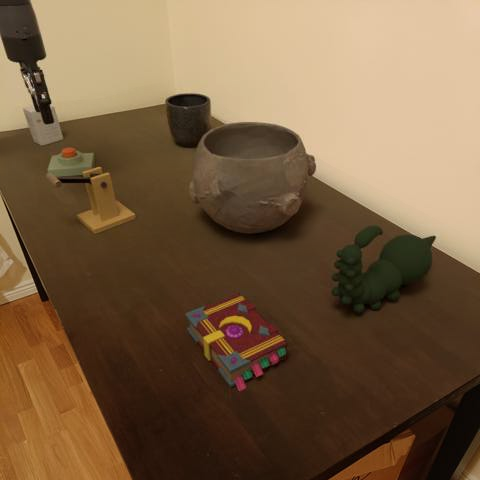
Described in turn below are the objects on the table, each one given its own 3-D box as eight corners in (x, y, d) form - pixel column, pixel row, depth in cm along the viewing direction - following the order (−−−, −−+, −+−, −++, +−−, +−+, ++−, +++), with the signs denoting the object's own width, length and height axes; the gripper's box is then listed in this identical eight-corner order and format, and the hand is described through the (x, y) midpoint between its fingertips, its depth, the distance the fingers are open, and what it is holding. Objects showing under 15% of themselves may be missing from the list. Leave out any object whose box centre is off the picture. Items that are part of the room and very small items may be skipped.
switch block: (49, 177, 121) (45, 163, 119) (54, 162, 128) (50, 149, 126) (93, 174, 123) (89, 160, 120) (95, 159, 130) (92, 146, 127)
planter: (188, 131, 147) (185, 90, 138) (221, 140, 141) (219, 98, 132) (160, 144, 138) (155, 101, 129) (193, 154, 132) (190, 110, 124)
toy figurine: (352, 337, 78) (444, 280, 86) (366, 255, 64) (474, 197, 73) (318, 308, 84) (407, 258, 92) (324, 227, 70) (429, 176, 78)
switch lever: (54, 189, 90) (55, 178, 89) (45, 181, 93) (45, 170, 92) (108, 189, 98) (108, 178, 97) (98, 181, 101) (98, 171, 100)
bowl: (172, 242, 97) (160, 156, 84) (219, 187, 117) (216, 109, 103) (287, 267, 91) (295, 177, 77) (317, 204, 110) (328, 123, 96)
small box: (56, 135, 144) (46, 101, 137) (64, 139, 141) (54, 105, 134) (33, 141, 140) (21, 107, 133) (41, 146, 137) (30, 111, 130)
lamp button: (62, 159, 122) (60, 153, 120) (64, 154, 124) (62, 147, 123) (75, 158, 122) (74, 152, 121) (76, 153, 125) (75, 147, 123)
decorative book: (240, 309, 81) (240, 289, 78) (291, 364, 71) (294, 344, 68) (186, 332, 77) (184, 311, 73) (233, 394, 67) (233, 373, 63)
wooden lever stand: (94, 234, 100) (82, 187, 92) (78, 219, 105) (64, 173, 97) (136, 218, 105) (127, 172, 97) (118, 204, 110) (108, 159, 102)
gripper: (-6, 26, 87) (21, 110, 99) (5, 40, 79) (34, 131, 90) (32, 23, 90) (54, 105, 101) (47, 36, 81) (70, 124, 93)
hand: (45, 117), depth 96 cm, fingers open, 8 cm apart
